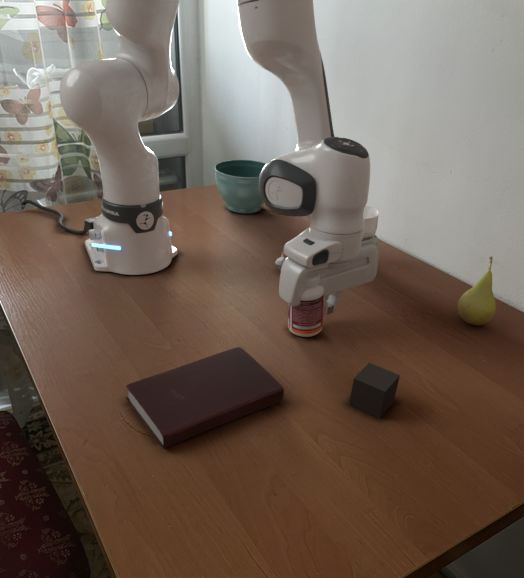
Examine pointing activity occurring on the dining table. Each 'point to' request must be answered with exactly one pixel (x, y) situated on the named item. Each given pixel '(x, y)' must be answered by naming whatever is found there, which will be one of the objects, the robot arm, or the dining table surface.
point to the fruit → (478, 301)
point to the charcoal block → (374, 390)
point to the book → (203, 395)
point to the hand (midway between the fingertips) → (326, 313)
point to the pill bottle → (308, 310)
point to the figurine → (281, 261)
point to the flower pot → (240, 184)
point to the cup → (370, 220)
